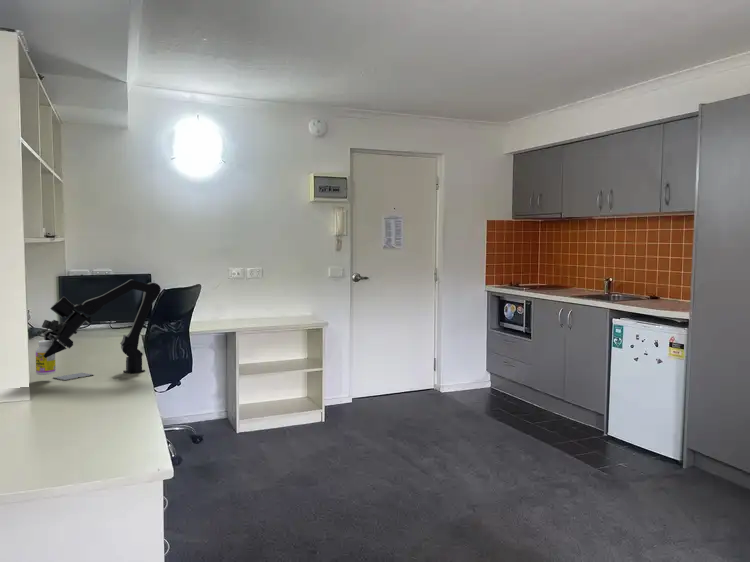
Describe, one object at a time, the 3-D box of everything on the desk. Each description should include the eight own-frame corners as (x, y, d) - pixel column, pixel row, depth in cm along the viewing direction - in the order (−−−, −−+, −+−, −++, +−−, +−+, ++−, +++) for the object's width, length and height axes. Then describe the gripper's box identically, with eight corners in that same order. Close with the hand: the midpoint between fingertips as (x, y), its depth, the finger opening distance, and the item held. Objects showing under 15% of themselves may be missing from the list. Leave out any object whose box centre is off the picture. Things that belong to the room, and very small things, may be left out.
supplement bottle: (32, 374, 218) (31, 341, 217) (49, 371, 223) (48, 339, 223) (42, 376, 214) (41, 342, 214) (59, 372, 220) (58, 340, 220)
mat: (93, 375, 230) (93, 374, 230) (64, 380, 219) (64, 379, 219) (81, 373, 234) (81, 372, 234) (53, 378, 223) (53, 377, 223)
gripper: (48, 310, 227) (17, 340, 220) (63, 313, 214) (31, 345, 207) (69, 328, 233) (40, 357, 226) (85, 332, 220) (55, 363, 213)
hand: (41, 355), depth 218 cm, fingers closed on supplement bottle, 7 cm apart
